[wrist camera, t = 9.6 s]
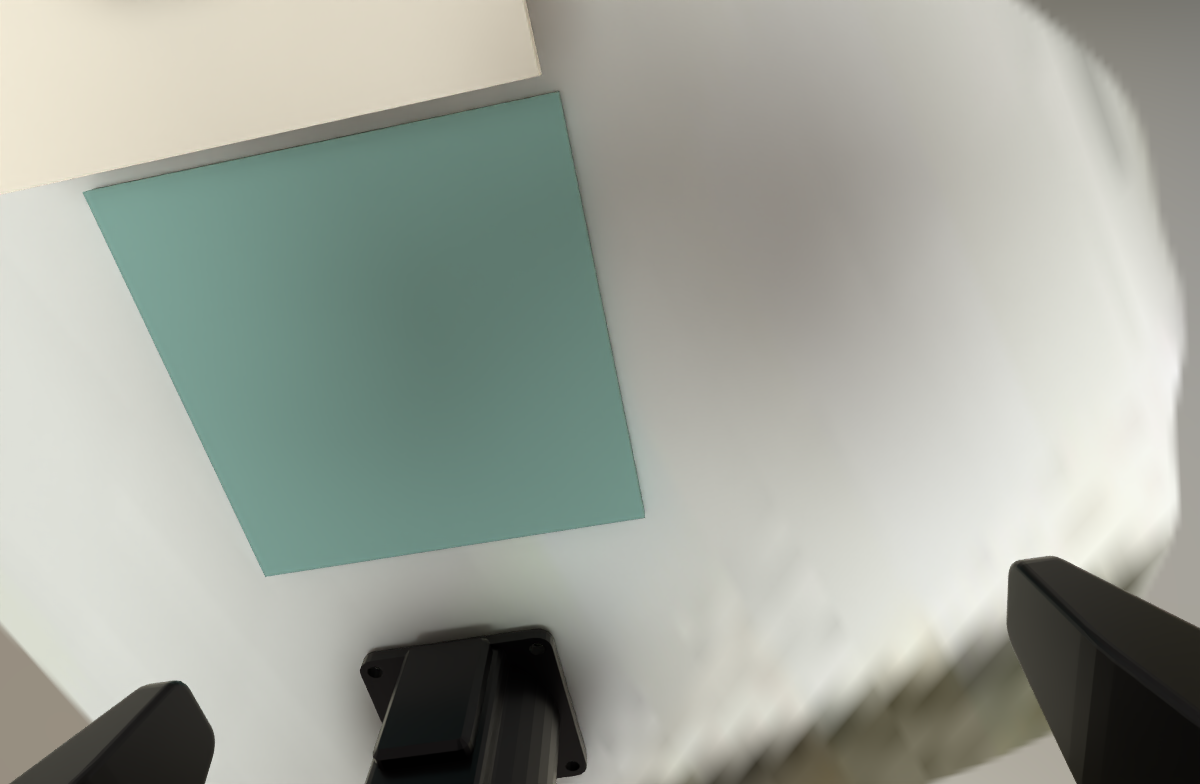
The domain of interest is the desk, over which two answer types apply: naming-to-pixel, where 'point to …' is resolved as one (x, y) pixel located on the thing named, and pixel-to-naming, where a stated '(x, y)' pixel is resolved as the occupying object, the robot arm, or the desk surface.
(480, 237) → the mat
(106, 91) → the lid
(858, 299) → the desk surface
